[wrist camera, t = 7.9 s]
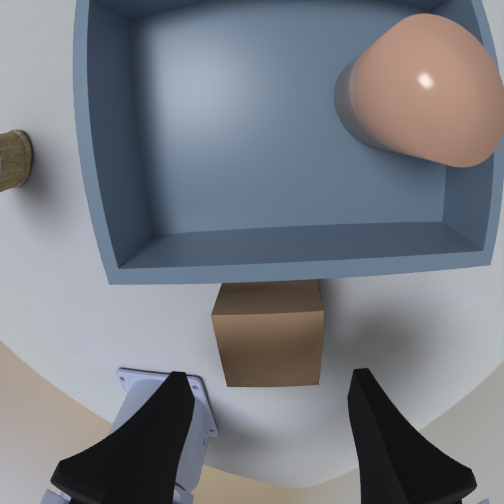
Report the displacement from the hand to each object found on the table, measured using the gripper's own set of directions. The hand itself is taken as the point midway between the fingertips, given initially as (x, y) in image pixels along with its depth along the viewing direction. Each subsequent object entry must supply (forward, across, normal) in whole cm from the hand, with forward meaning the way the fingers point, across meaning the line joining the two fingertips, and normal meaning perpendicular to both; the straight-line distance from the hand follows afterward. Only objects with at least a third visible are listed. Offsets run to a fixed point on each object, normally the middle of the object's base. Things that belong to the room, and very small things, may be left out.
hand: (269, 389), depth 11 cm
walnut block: (+7, 0, 0) cm, 7 cm away
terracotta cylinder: (+7, -6, -12) cm, 15 cm away
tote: (+7, -2, -11) cm, 14 cm away
